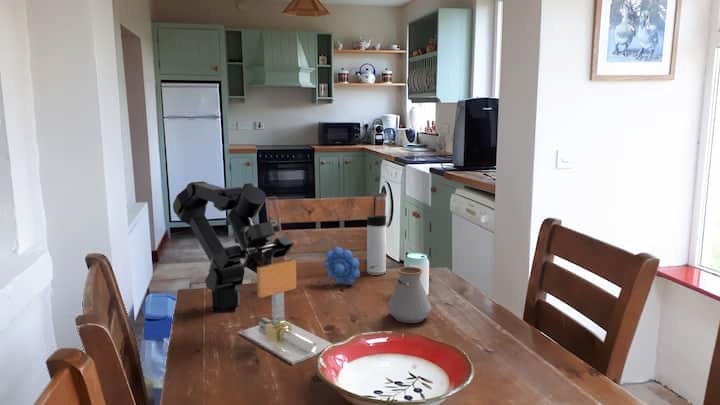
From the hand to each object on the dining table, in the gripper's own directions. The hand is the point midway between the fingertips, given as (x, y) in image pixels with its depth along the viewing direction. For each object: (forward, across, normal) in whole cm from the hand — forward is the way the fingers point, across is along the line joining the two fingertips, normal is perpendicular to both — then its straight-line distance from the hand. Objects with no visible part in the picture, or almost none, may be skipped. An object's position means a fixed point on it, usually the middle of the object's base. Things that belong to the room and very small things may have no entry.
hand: (270, 281), depth 126 cm
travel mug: (-3, +53, +22) cm, 58 cm away
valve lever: (+8, 0, +4) cm, 9 cm away
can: (+13, +46, +6) cm, 49 cm away
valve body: (+13, 0, +5) cm, 14 cm away
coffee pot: (+22, +28, -3) cm, 36 cm away
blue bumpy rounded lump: (-2, +36, +21) cm, 42 cm away
